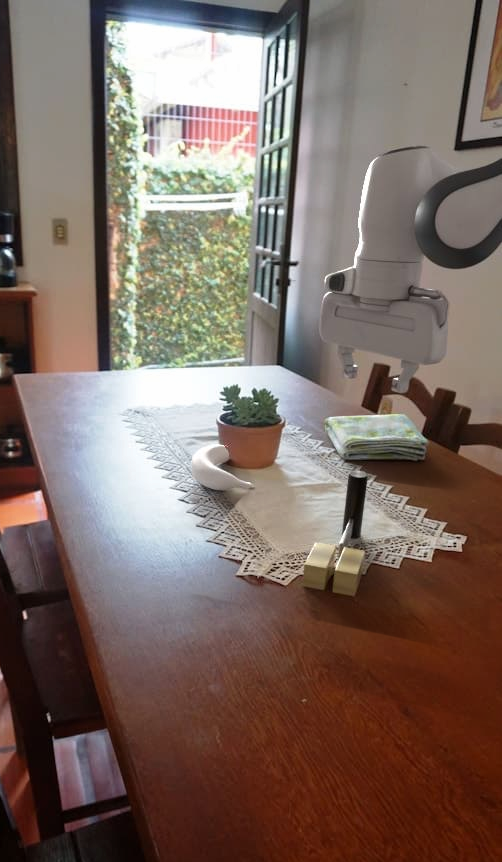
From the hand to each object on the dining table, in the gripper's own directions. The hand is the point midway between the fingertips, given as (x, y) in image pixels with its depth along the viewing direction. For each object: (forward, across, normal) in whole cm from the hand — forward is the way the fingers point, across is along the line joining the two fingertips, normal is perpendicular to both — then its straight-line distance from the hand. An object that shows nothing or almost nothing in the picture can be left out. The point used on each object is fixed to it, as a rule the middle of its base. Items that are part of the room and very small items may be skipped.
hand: (373, 384), depth 97 cm
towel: (+25, +29, -37) cm, 53 cm away
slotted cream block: (+24, -5, +8) cm, 26 cm away
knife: (+23, -3, +5) cm, 24 cm away
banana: (+25, +32, 0) cm, 40 cm away
